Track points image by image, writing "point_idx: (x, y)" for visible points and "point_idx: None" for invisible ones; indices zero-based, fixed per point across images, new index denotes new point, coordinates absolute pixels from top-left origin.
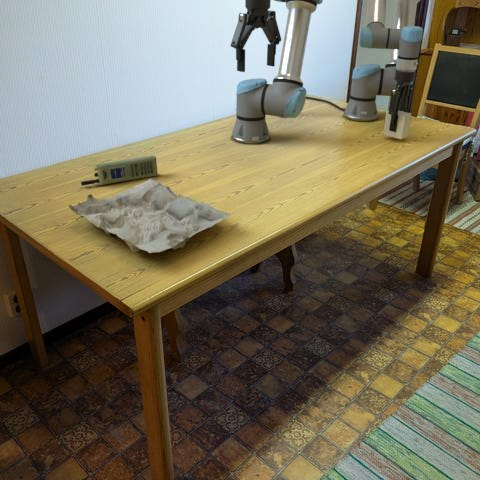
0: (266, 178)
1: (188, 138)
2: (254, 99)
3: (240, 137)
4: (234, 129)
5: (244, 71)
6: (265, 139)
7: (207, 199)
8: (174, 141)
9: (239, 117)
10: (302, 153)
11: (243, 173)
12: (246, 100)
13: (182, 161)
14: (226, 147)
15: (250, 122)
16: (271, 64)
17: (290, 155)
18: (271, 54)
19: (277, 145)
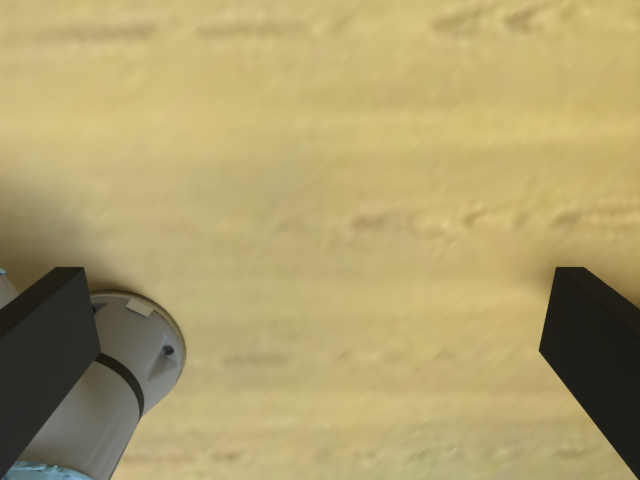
0: (352, 38)
1: (283, 454)
2: (69, 416)
3: (176, 346)
4: (165, 391)
5: (566, 267)
6: (99, 294)
7: (625, 50)
8: (332, 459)
9: (141, 408)
10: (63, 121)
11: (375, 132)
12: (97, 438)
13: (434, 333)
14: (246, 335)
15: (124, 361)
16: (78, 298)
17: (117, 138)
18: (4, 378)
19: (88, 241)
